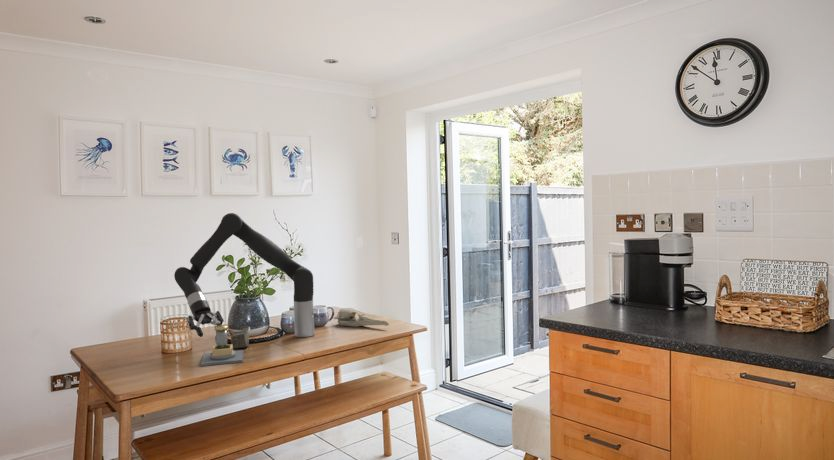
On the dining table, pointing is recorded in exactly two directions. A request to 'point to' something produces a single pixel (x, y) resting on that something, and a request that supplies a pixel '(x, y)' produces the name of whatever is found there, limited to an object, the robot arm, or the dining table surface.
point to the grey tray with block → (222, 356)
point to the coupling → (221, 336)
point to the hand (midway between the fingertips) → (211, 334)
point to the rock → (240, 339)
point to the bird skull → (348, 319)
